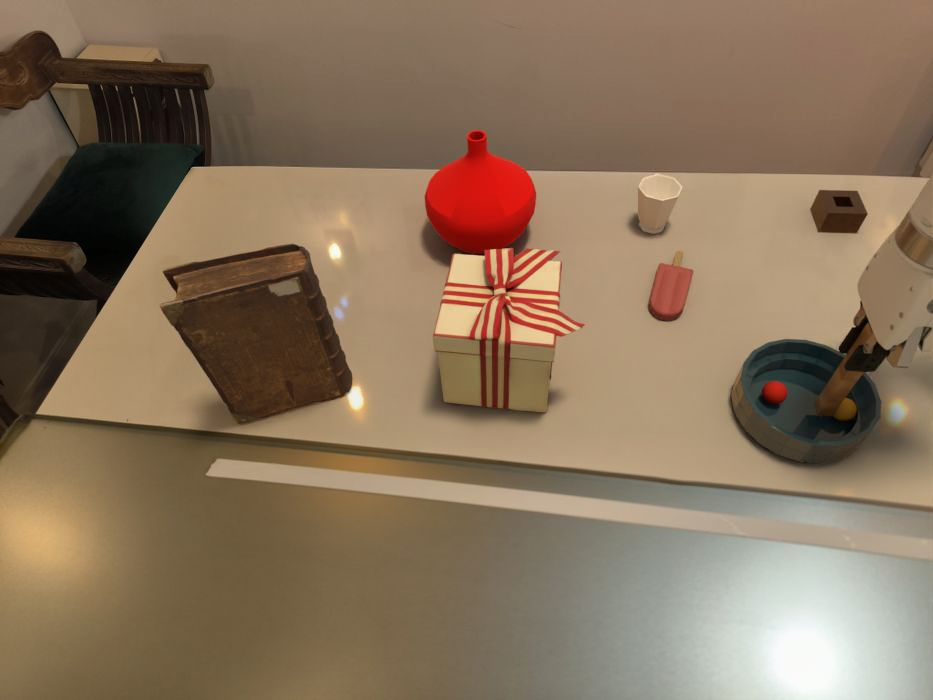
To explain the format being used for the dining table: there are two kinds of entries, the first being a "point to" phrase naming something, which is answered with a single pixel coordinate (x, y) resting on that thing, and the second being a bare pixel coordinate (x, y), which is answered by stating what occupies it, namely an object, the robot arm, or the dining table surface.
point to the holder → (838, 211)
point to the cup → (656, 201)
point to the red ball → (774, 392)
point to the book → (259, 330)
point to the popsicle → (670, 289)
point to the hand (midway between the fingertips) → (855, 359)
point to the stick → (840, 381)
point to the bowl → (801, 402)
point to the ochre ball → (845, 410)
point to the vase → (480, 199)
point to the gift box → (500, 328)
